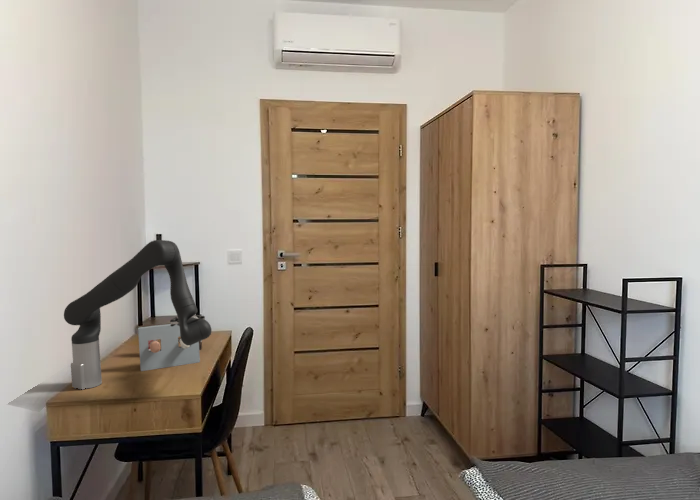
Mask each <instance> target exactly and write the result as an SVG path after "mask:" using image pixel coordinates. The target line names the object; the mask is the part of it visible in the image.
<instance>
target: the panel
mask: <svg viewBox="0 0 700 500" xmlns="http://www.w3.org/2000/svg"><path fill="white" fill-rule="evenodd" d="M137 331H138V333H137V334H138V335H137V336H138V349H139V351H138V352H139V367H140V368H139V369H140V372H144V371H146V372H147V371H152V370H156V369H157V370H159V369H165V368H171V367H178V366H185V365H191V364H198V363H201V357H200V355H201V354H200V353H201V352H200V350H199V342H197V343H195V344H192V345H190V346H189V347H188V348H186V349H184V348H182V347H181V346H180V343H179V337H180V338H181V336H180V327H179V326H178V325H177V324H176V325H174V326H171V325H170V323H166V324H159V325H158V324H157V325H150V326H141V327H138V328H137ZM150 340H157V341H158V340H160V341H159V342H160V347H161V348H160V350H159V351H158V352H157V353H153V352H152V351H149V348H148V341H150Z"/></svg>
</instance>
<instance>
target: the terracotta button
mask: <svg viewBox="0 0 700 500" xmlns="http://www.w3.org/2000/svg"><path fill="white" fill-rule="evenodd" d="M160 349H161V343H160V341H158V340H157V341H156V340H154V341H152V342H151V343H150V350H151V351H152V352H153V353H157V352H158V351H159V350H160Z"/></svg>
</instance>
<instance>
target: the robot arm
mask: <svg viewBox="0 0 700 500" xmlns="http://www.w3.org/2000/svg"><path fill="white" fill-rule="evenodd" d="M158 266H159V267H163V266H164V268H165V270H166V271H167V273H168V277H169V281H170V291H169V292H170V295H169V296H170V300H171V303H172V305H173V309H174V310H175V313H176V316H177V317H176V316H175V317H173V318H171V319H170V320H169V321H170V323H169V324H170V325H171V326H174V325H176V324H177V325H178V326H179V327H180V336H181V337H180V338H181V340H182V342H183V343H184V344H185V345H192V344H195V343H197V342H199V341H202V342H203V340H206V339H208V338H209V337H211V335H212V332H213V331H212V327H211V324H210V322H208V321H207V319H206V318H205V317H206V316H204V315H199V314H198V308H197V305H196V303H195V300H194V298H193V295H192V293H191V291H190V288H189V285H188V281H187V278H186V274H185V269H184V266H183V260H182V256H181V253H180V250H179V247H178V245H177V244H176V243H175V242H173V241H172V240H171V241H170V240H166V239H165V240H162V239H155V240H151V241H150V242H148V243H147V244H145V246H144V247H142V248H141V249H140V250H139V251H138V252H137V253H136V254H135V255H134V256H133V257H132V258H131V259H129V260H128V261H127V262H125V263H124V264H123V265H122V266H120V267H119V268H117V269H116V270H115V271H113V272H112V273H110V274H109V275H107V277H105V278H104V279H103V280H102V281H101V282H98V284H96V285H95V286H94V287H92V289H91V290H89V291H88V292H86V293H84V295H81V296H79V298H76V299H75V300H73V301H71V302H69V304H68V305H67V306H66V307H65V309H64V311H63V319H64V321H65V322H66V323H68V325H71V326H78V329H77V330H76V332H74V333H73V334H72V336H71V340H70V341H71V354H72V362H71V363H70V373H71V374H70V375H71V388H72V387H74V388H73V389H76V388H78V389H77V390H81V389H82V390H84V389H85V388H86V389H92V388H96V387H98V386H100V385H102V384H103V380H102V379H103V377H102V367H101V366H102V365H101V362H102V361H101V351H100V350H101V349H100V334H101V331H102V330H101V329H102V328H101V321H102V320H101V317H102V316H101V308H102V307H105V306H107V305H110V304H112V303H113V302H115V301H118V300H120V299H121V298H124V296H126V295H127V294H129V293H130V292H132V291H134V289H135V288H136V287H137V285H138V284H139V282H140V280H141V277H143V275H144V274H145V273H147V272H149V271H151V270H152V269H153V268H155V267H158ZM86 389H85V390H86Z"/></svg>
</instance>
